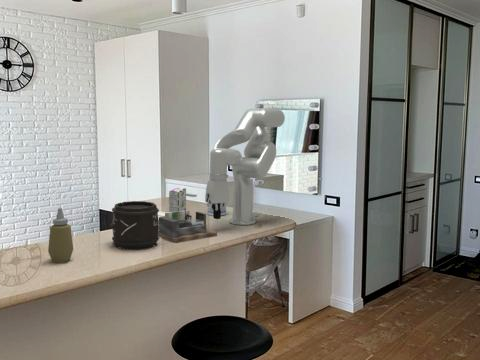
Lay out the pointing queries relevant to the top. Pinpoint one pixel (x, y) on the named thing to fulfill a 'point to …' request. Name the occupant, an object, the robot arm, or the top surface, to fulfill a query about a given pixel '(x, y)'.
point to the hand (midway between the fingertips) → (216, 218)
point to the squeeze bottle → (60, 239)
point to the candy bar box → (177, 200)
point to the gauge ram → (195, 220)
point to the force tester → (181, 228)
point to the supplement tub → (223, 211)
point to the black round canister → (135, 225)
